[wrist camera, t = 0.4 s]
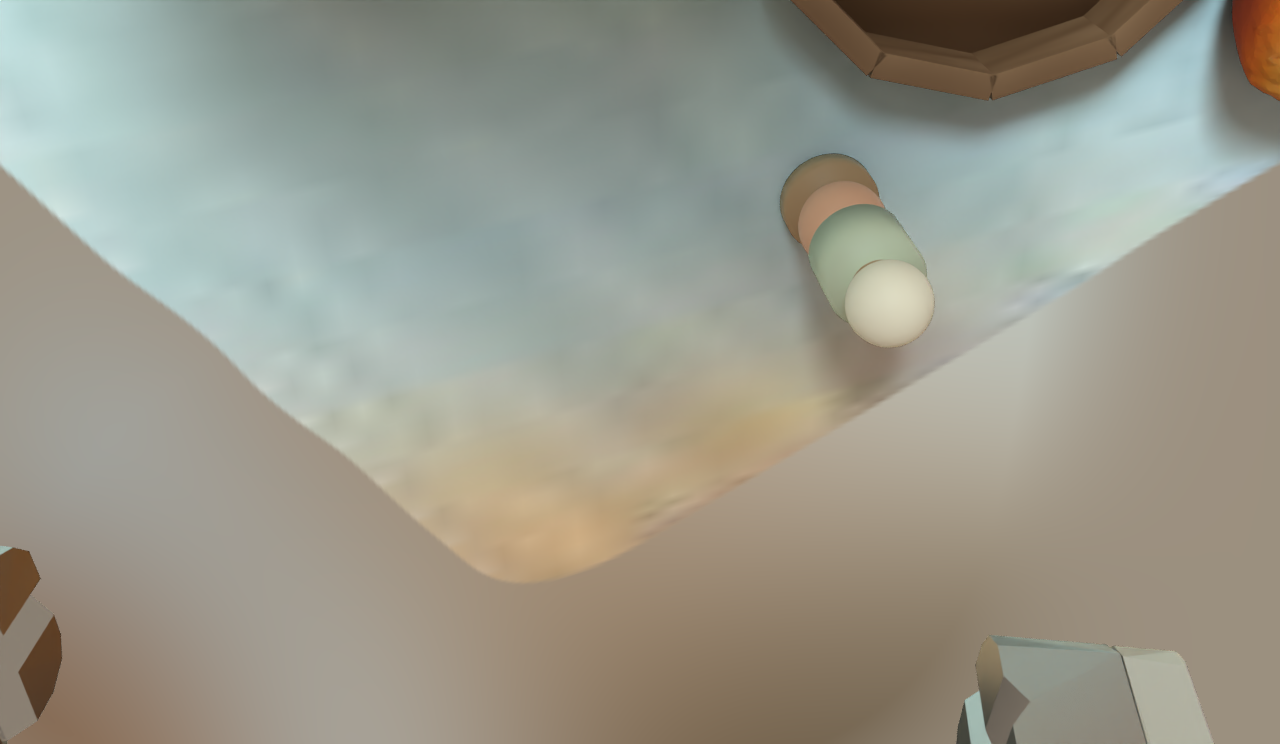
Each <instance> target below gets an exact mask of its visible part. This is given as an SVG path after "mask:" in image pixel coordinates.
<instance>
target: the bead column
mask: <svg viewBox="0 0 1280 744" xmlns="http://www.w3.org/2000/svg"><path fill="white" fill-rule="evenodd" d="M780 210H781V214H782V217H783V219H784V221H785V223H786V225H787V227H788V229H789V231H790V233H791V234H792V236H793V237H794V238H795V239H796V240H797V241H798V242H799V243H801V244H802V245H803V247H804V249H805V251H806V252H807V253H808V255H809V262H810V265H811V268H812V270H813V272H814V274H815V276H816V278H817V280H818V282H819V284H820V286H821V288H822V290H823V292H824V293H825V295H826V297H827V299H828V301H829V303H830V305H831V307H832V309H833V310H834V312H835V313H836V314H837V315H838V316H839V317H840V318H841V319H843V320H844V321H846V322H848V323H849V324H850V326H851V327H852V329H853V330H854V331H855V333H856V334H857V335H858V336H859V337H861V338H862V339H863V340H865V341H866V342H868V343H870V344H872V345H875V346H879V347H886V348H891V347H899V346H903V345H906V344H908V343H910V342H912V341H914V340H915V339H917V338H918V337H919V336H920V335H921V334H922V333H923V332H924V331H925V330H926V328H927V327H928V325H929V323H930V321H931V319H932V316H933V312H934V304H935V301H934V294H933V290H932V287H931V285H930V283H929V281H928V279H927V278H926V276H927V271H926V265H925V262H924V259H923V257H922V255H921V254H920V252H919V251H918V250H917V248H916V247H915V245H914V244H913V242H912V241H911V239H910V238H909V236H908V235H907V233H906V232H905V230H904V229H903V228H902V226H901V225H900V223H899V222H898V220H897V219H896V217H895V216H894V215H893V214H892V213H890V212H889V211H888V210H886V209H885V207H884V205H883V203H882V201H881V200H880V198H879V192H878V189H877V186H876V184H875V182H874V181H873V179H872V178H871V176H870V175H869V173H868V172H867V170H866V169H865V168H864V166H863V165H862V164H861V163H859V162H858V161H857V160H855V159H853V158H851V157H849V156H846V155H842V154H824V155H820V156H816V157H814V158H811V159H809V160H807V161H806V162H804V163H803V164H801V165H800V166H799V167H797V168H796V169H795V170H794V171H793V172H792V173H791V175H790V176H789V177H788V179H787V180H786V182H785V184H784V186H783V189H782V192H781V196H780Z"/></svg>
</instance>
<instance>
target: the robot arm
mask: <svg viewBox="0 0 1280 744" xmlns="http://www.w3.org/2000/svg"><path fill="white" fill-rule="evenodd" d="M40 579H41V578H40V575H39V573H38V571H37V568H36V566H35V564H34V561H33V559H32V557H31V554H30V552H29V551H26V550H22V549H17V548H13V547H5V546H0V744H7V741H8V740H9V739H10V738H12V737H13V736H15V735H17V734H18V733H20V732H21V731H23V730H24V729H26V728H27V727H29V726H30V725H32V724H33V723H35V722H36V721H38V719H39V717H40V715H41V713H42V712H43V710H44V708H45V706H46V705H47V703H48V701H49V699H50V697H51V696H52V694H53V692H54V689H55V684H56V681H57V677H58V673H59V669H60V665H61V661H62V646H61V633H60V630H59V627H58V624H57V622H56V619H55V616H54V614H53V613H52V612H51V611H49V610H48V609H47V608H46V607H45V606H43V605H42V604H41V603H40V602H39V601H37V600H36V599H35V598H34V597H32V596H31V595H30V594H31V593H32V591H33V590H34V588H35V587H36V585H37V584H38V582H39V580H40ZM975 666H976V672H977V679H978V686H979V691H978V692H976V693H975V694H973V695H972V696H970V697H969V698H967V699H966V700H965V701H964V705H963V709H962V713H961V717H960V720H959V724H958V731H957V742H956V744H1215V743H1214V741H1213V738H1212V735H1211V732H1210V729H1209V727H1208V724H1207V721H1206V718H1205V715H1204V712H1203V709H1202V707H1201V704H1200V701H1199V698H1198V695H1197V692H1196V690H1195V687H1194V684H1193V681H1192V678H1191V675H1190V673H1189V670H1188V667H1187V664H1186V662H1185V661H1184V659H1183V658H1182V657H1181V656H1180V655H1179V654H1178V653H1177V652H1176V651H1168V650H1157V649H1146V648H1135V647H1122V646H1112V647H1109V646H1108V645H1106V644H1093V643H1081V642H1068V641H1056V640H1044V639H1031V638H1018V637H1005V636H993V635H989V636H988V637H987V638H986V640H985V641H984V642H983V644H982V646H981V649H980V652H979V655H978V659H977V661H976V664H975Z"/></svg>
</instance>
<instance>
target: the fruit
mask: <svg viewBox="0 0 1280 744" xmlns="http://www.w3.org/2000/svg"><path fill="white" fill-rule="evenodd" d="M1232 22H1233V30H1234V36H1235V41H1236V47H1237V51H1238V55H1239V59H1240V62H1241V65H1242V67H1243V70H1244V73H1245V75H1246V77H1247V79H1248V81H1249V83H1250V84H1251V85H1253V86H1254V87H1256V88H1257V89H1259V90H1260V91H1262V92H1263V93H1266V94H1268V95H1271V96H1272V97H1274V98H1275V99H1277V100H1278V101H1280V0H1232Z"/></svg>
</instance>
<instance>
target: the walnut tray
mask: <svg viewBox="0 0 1280 744" xmlns="http://www.w3.org/2000/svg"><path fill="white" fill-rule="evenodd" d="M791 1H792V2H793V3H794V4H795V5H796V6H797V7H798V8H799V9H800V10H801V11H802V12H803V13H804V14H805V15H806V16H807V17H808V18H809V19H810V20H811V21H812V22H813V23H814V24H815V25H816V26H817V27H818V28H819V29H820V30H821V31H822V32H823V33H824V34H825V35H826V36H827V37H828V38H829V39H830V40H831V41H832V42H833V43H834V44H835V45H836V46H837V47H838V48H839V49H840V50H841V51H842V52H843V53H844V54H845V55H846V56H847V57H848V58H849V59H850V60H851V61H852V62H853V63H854V64H855V65H856V66H857V67H858V68H859V69H860V70H861V71H862V72H863V73H864V74H865V75H866V76H867V75H869V76H870V78H874V79H879V80H884V81H890V82H895V83H900V84H905V85H910V86H915V87H921V88H926V89H931V90H936V91H941V92H946V93H952V94H957V95H962V96H967V97H972V98H977V99H983V100H989V97H990V98H991V99H992V100H995V99H998V98H1001V97H1004V96H1007V95H1010V94H1013V93H1016V92H1019V91H1022V90H1025V89H1028V88H1031V87H1034V86H1037V85H1040V84H1043V83H1046V82H1049V81H1052V80H1055V79H1058V78H1061V77H1064V76H1067V75H1070V74H1073V73H1077V72H1080V71H1083V70H1086V69H1089V68H1092V67H1095V66H1098V65H1101V64H1104V63H1107V62H1110V61H1113V60H1116V59H1117V54H1119V55H1120V56H1122V55H1124V54H1125V53H1126V52H1127V51H1128V50H1129V49H1130V48H1131V47H1132V46H1133V45H1135V44H1136V43H1137V42H1138V41H1139V40H1140V39H1141V38H1142V37H1143V36H1144V35H1146V34H1147V33H1148V32H1149V31H1150V30H1151V29H1152V28H1153V27H1154V26H1155V25H1157V24H1158V23H1159V22H1160V21H1161V20H1162V19H1163V18H1164V17H1165V16H1166V15H1168V14H1169V13H1170V12H1171V11H1172V10H1173V9H1174V8H1175V7H1176V6H1177V5H1179V4H1180V3H1181V2H1182V1H1183V0H791Z"/></svg>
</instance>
